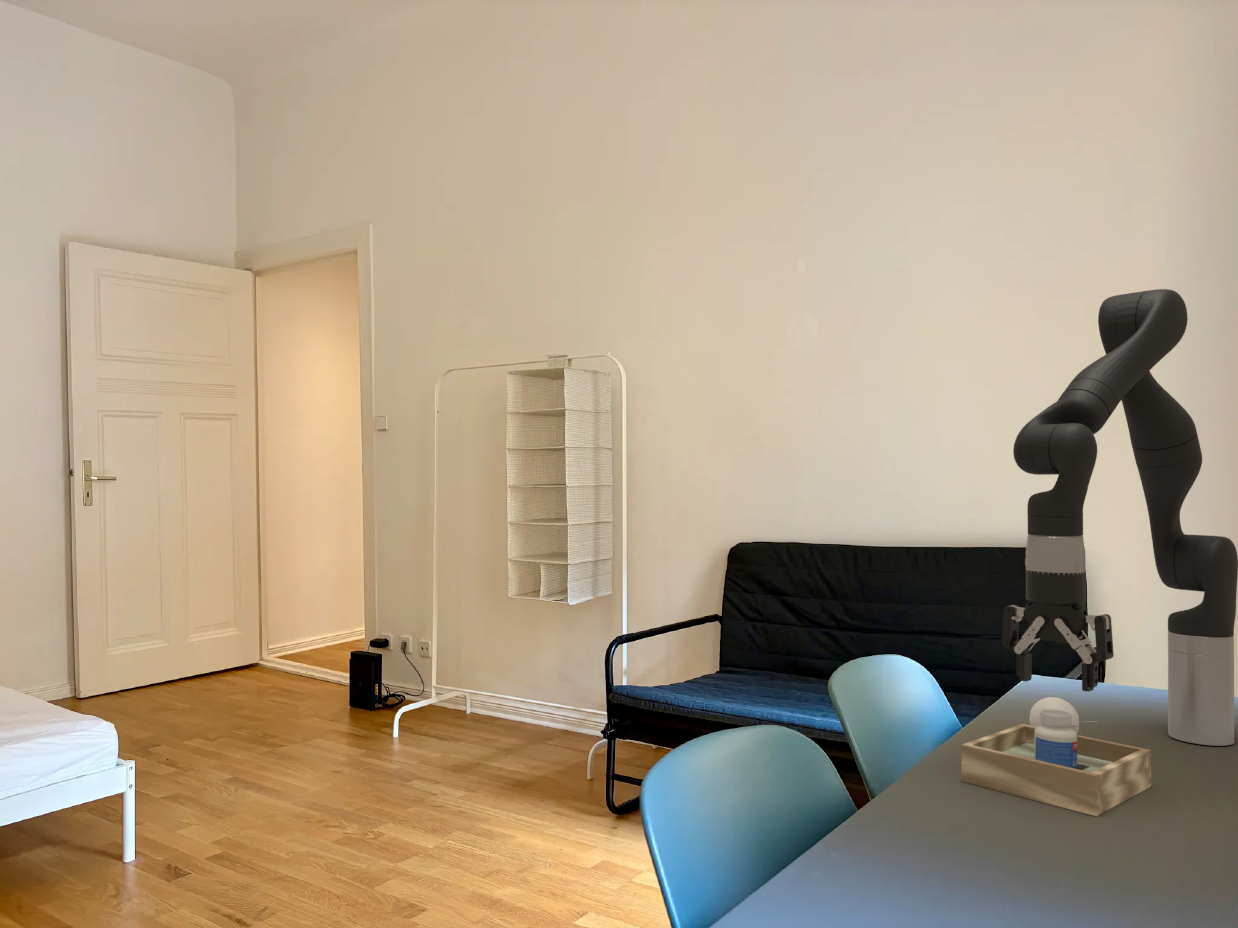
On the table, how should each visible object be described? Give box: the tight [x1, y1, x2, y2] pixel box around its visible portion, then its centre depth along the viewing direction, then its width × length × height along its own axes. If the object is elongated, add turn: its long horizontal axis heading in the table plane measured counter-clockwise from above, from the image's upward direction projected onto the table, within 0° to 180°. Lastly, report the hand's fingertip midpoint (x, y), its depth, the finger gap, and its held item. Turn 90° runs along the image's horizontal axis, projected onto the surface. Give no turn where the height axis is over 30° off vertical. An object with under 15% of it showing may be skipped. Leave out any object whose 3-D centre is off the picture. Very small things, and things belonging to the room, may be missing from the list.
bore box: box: [960, 723, 1152, 817], centre depth 130 cm, size 18×18×5 cm
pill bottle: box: [1034, 710, 1078, 769], centre depth 130 cm, size 6×5×10 cm
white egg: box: [1029, 696, 1098, 735], centre depth 149 cm, size 10×7×7 cm
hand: (1055, 685), depth 130 cm, fingers open, 8 cm apart
